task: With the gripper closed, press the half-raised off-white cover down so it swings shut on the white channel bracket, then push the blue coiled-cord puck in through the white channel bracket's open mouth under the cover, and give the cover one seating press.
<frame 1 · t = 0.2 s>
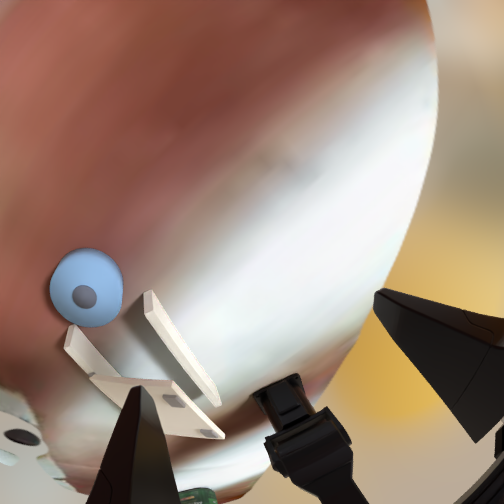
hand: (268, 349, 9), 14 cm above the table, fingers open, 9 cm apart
white channel bracket: (148, 362, 26), on the table
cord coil: (89, 280, 20), on the table
coffee jar: (192, 491, 47), on the table
cover: (159, 413, 22), point 5 cm above the table, hinge at 26.0°, touching white channel bracket
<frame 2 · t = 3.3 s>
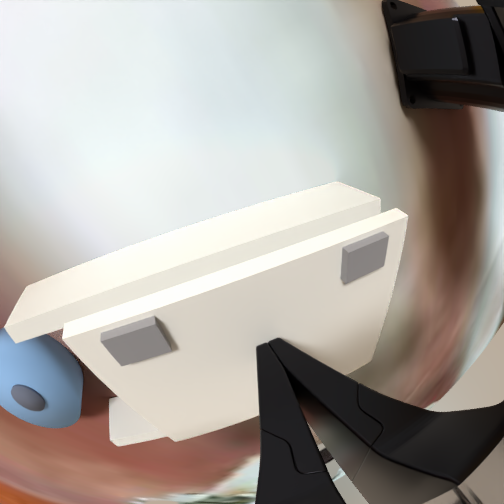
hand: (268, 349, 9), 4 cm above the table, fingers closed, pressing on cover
white channel bracket: (206, 315, 13), on the table
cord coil: (36, 365, 11), on the table
cover: (268, 361, 10), point 4 cm above the table, hinge at 7.8°, touching white channel bracket, gripper
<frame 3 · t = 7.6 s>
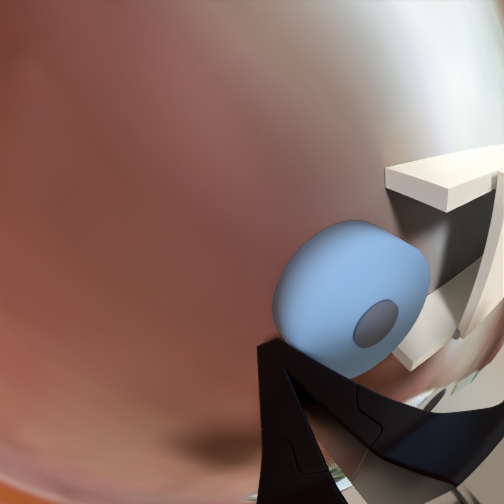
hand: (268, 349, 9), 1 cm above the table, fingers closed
white channel bracket: (466, 223, 13), on the table
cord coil: (339, 289, 11), on the table, touching gripper
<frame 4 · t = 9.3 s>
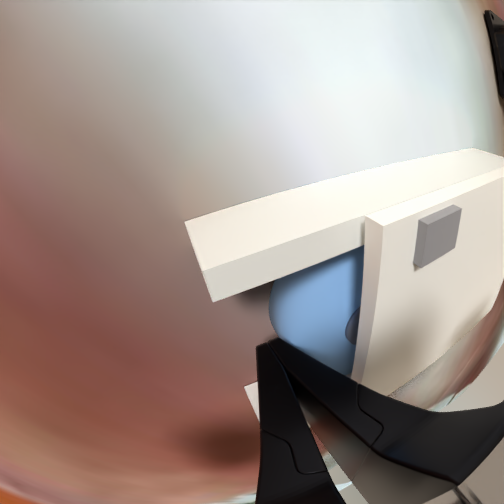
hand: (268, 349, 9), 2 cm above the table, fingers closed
white channel bracket: (383, 265, 12), on the table
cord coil: (333, 287, 12), on the table
cover: (465, 286, 9), point 4 cm above the table, hinge at 2.1°, touching white channel bracket
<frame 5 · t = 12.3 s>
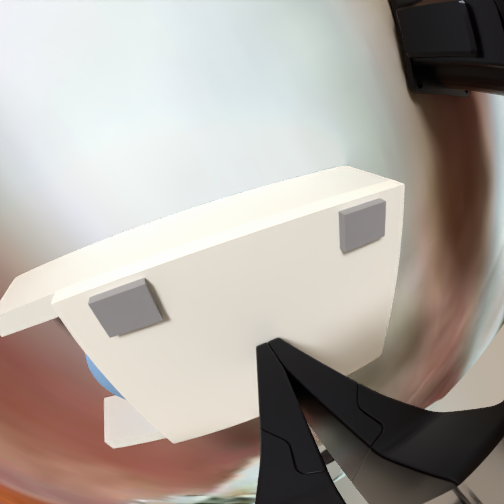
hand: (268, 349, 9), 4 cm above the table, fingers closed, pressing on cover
white channel bracket: (206, 308, 12), on the table
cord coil: (155, 325, 12), on the table
cover: (270, 346, 9), point 4 cm above the table, hinge at 2.1°, touching white channel bracket, gripper
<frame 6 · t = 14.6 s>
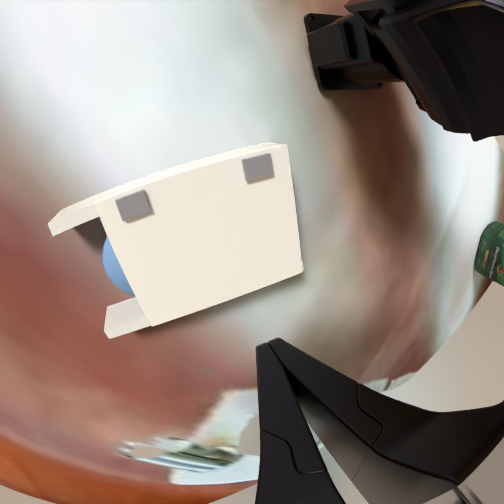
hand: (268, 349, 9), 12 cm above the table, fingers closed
white channel bracket: (180, 232, 20), on the table
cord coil: (147, 243, 19), on the table
coffee jar: (483, 245, 38), on the table
cover: (211, 241, 17), point 4 cm above the table, hinge at 2.1°, touching white channel bracket
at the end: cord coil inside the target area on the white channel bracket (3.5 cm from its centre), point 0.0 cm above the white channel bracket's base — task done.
